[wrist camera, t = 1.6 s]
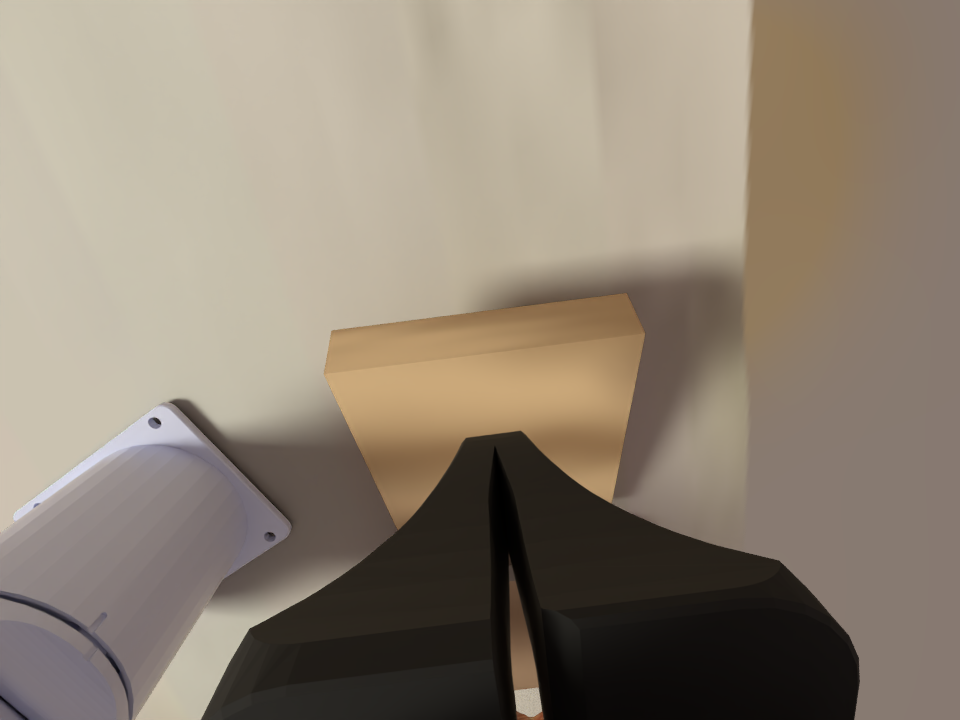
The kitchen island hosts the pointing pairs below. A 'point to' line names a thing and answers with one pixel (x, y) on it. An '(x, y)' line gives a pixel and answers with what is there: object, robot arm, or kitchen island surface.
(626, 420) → the oak plank
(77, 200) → the kitchen island surface
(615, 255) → the kitchen island surface
